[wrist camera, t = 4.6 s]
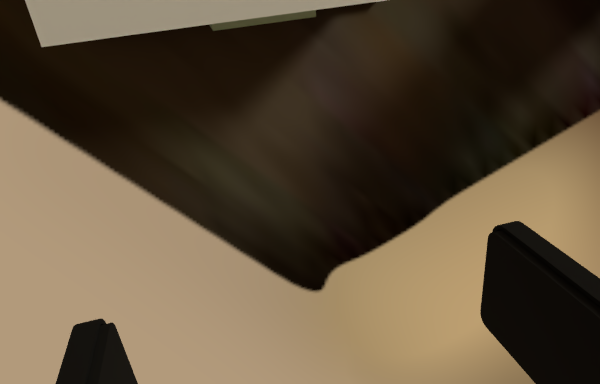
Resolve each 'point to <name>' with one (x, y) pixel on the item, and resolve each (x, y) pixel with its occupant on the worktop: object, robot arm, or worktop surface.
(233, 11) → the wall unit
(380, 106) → the worktop surface
